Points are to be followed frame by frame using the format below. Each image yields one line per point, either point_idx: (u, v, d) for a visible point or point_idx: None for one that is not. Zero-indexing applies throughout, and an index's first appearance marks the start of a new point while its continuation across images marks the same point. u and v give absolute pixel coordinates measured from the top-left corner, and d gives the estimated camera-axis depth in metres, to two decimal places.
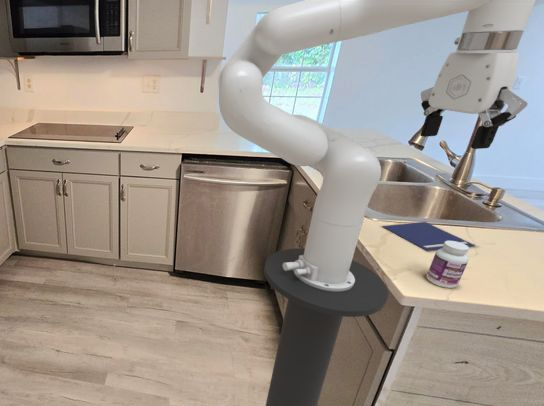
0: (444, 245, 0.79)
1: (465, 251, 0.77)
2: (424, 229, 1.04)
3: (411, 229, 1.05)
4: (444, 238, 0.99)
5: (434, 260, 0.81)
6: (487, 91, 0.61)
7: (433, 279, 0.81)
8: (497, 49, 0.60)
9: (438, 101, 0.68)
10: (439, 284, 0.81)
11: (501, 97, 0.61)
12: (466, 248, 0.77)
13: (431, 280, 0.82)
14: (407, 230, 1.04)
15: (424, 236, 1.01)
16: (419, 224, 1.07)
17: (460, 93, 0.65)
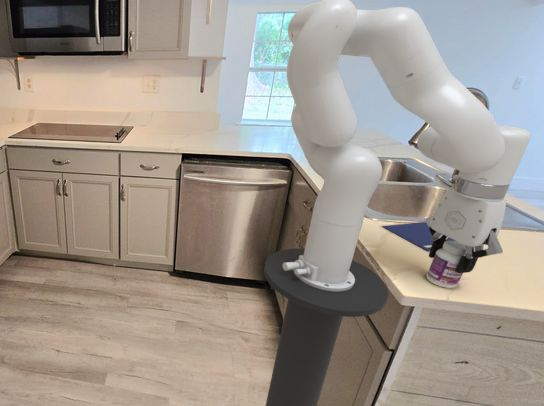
0: (444, 245, 0.79)
1: None
2: (424, 229, 1.04)
3: (411, 229, 1.05)
4: None
5: (434, 260, 0.81)
6: (479, 231, 0.72)
7: (433, 279, 0.81)
8: (488, 198, 0.70)
9: (438, 226, 0.79)
10: (439, 284, 0.81)
11: (486, 238, 0.72)
12: None
13: (431, 280, 0.82)
14: (407, 230, 1.04)
15: (424, 236, 1.01)
16: (419, 224, 1.07)
17: (457, 226, 0.76)
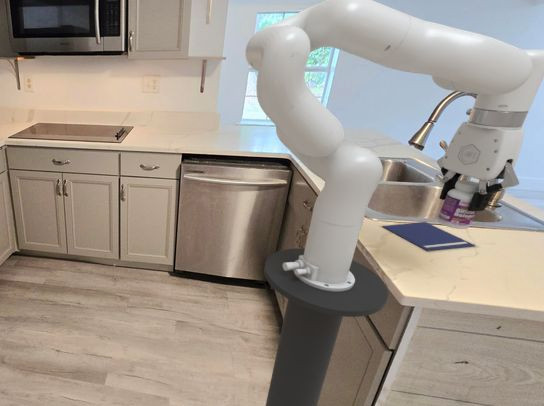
0: (457, 184, 0.76)
1: None
2: (424, 229, 1.04)
3: (411, 229, 1.05)
4: (444, 238, 0.99)
5: (445, 201, 0.78)
6: (495, 162, 0.69)
7: (444, 220, 0.78)
8: (504, 126, 0.67)
9: (450, 164, 0.76)
10: (450, 225, 0.77)
11: (501, 170, 0.69)
12: None
13: (442, 222, 0.79)
14: (407, 230, 1.04)
15: (424, 236, 1.01)
16: (419, 224, 1.07)
17: (470, 160, 0.72)
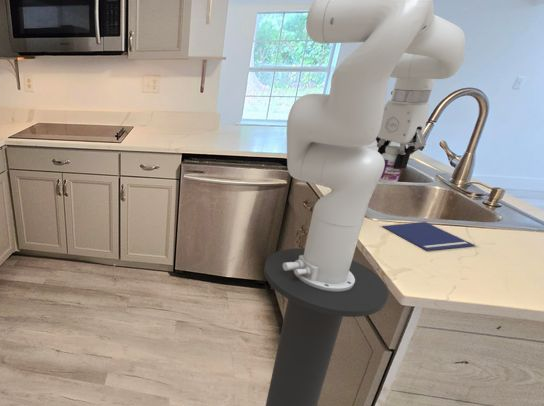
0: (386, 148, 0.99)
1: None
2: (424, 229, 1.04)
3: (411, 229, 1.05)
4: (444, 238, 0.99)
5: None
6: (408, 129, 0.91)
7: None
8: (414, 102, 0.90)
9: (380, 133, 0.99)
10: (382, 181, 1.00)
11: (414, 135, 0.91)
12: None
13: None
14: (407, 230, 1.04)
15: (424, 236, 1.01)
16: (419, 224, 1.07)
17: (393, 129, 0.95)
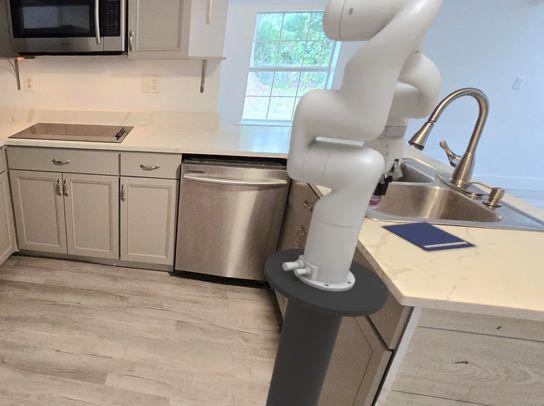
0: None
1: None
2: (424, 229, 1.04)
3: (411, 229, 1.05)
4: (444, 238, 0.99)
5: None
6: (386, 161, 0.99)
7: None
8: (391, 136, 0.98)
9: None
10: None
11: (392, 166, 0.99)
12: None
13: None
14: (407, 230, 1.04)
15: (424, 236, 1.01)
16: (419, 224, 1.07)
17: None
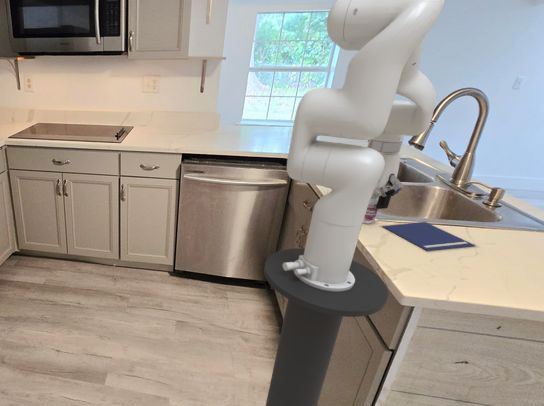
0: None
1: (376, 195, 1.06)
2: (424, 229, 1.04)
3: (411, 229, 1.05)
4: (444, 238, 0.99)
5: None
6: (382, 176, 1.00)
7: None
8: (387, 152, 0.99)
9: None
10: None
11: (390, 180, 1.00)
12: (377, 192, 1.06)
13: None
14: (407, 230, 1.04)
15: (424, 236, 1.01)
16: (419, 224, 1.07)
17: None
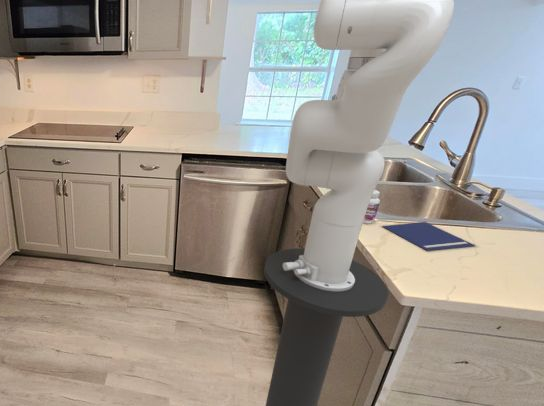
0: None
1: (376, 195, 1.06)
2: (424, 229, 1.04)
3: (411, 229, 1.05)
4: (444, 238, 0.99)
5: None
6: None
7: None
8: None
9: None
10: None
11: None
12: (377, 192, 1.06)
13: None
14: (407, 230, 1.04)
15: (424, 236, 1.01)
16: (419, 224, 1.07)
17: None
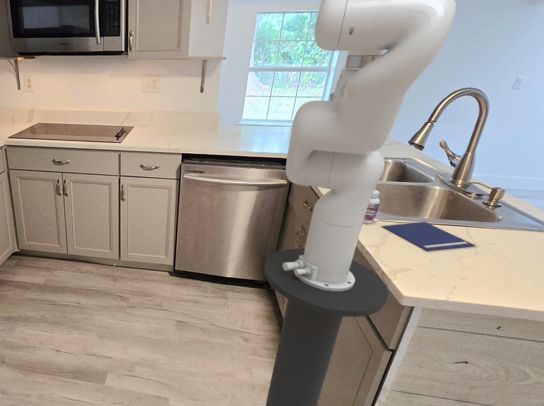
0: None
1: (376, 195, 1.06)
2: (424, 229, 1.04)
3: (411, 229, 1.05)
4: (444, 238, 0.99)
5: None
6: None
7: None
8: None
9: (336, 101, 1.00)
10: None
11: None
12: (377, 193, 1.06)
13: None
14: (407, 230, 1.04)
15: (424, 236, 1.01)
16: (419, 224, 1.07)
17: None
